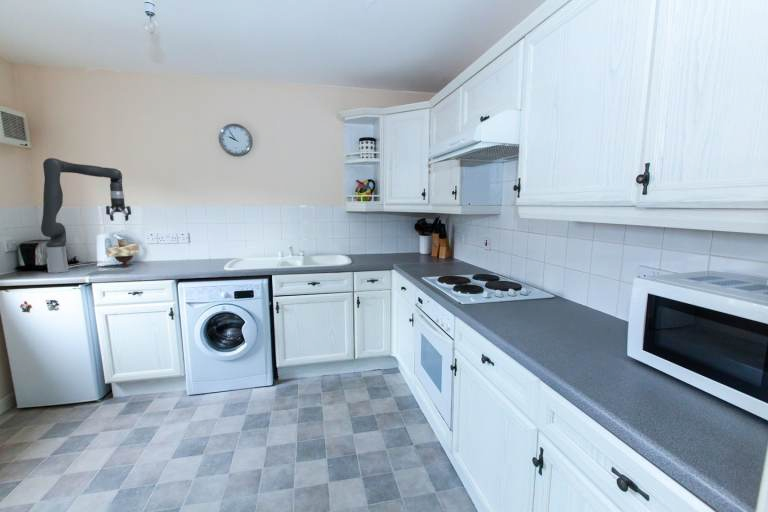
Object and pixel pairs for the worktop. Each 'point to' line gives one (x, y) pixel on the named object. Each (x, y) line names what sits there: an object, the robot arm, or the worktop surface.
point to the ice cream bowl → (124, 260)
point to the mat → (111, 272)
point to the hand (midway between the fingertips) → (119, 220)
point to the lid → (122, 249)
